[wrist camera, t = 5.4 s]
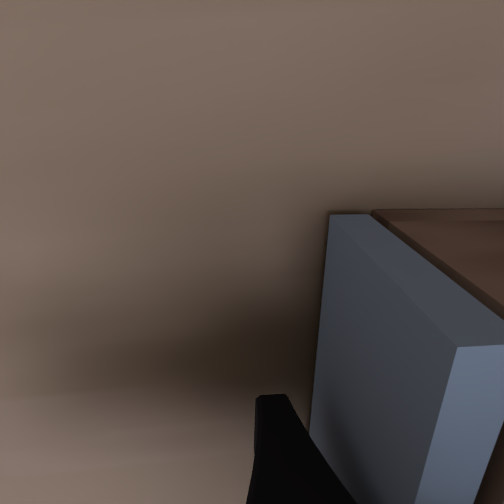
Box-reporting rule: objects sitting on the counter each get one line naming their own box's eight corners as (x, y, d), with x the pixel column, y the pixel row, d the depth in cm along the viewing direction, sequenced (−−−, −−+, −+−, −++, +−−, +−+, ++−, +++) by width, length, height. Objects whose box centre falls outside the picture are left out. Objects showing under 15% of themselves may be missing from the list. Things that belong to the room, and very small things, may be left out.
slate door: (368, 213, 10) (532, 343, 5) (324, 530, 15) (381, 751, 10) (283, 215, 9) (362, 352, 4) (269, 536, 15) (299, 764, 10)
